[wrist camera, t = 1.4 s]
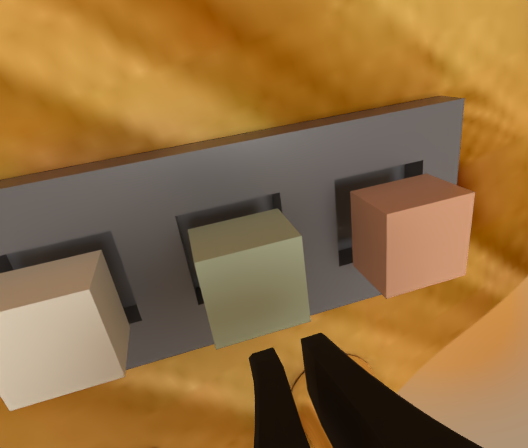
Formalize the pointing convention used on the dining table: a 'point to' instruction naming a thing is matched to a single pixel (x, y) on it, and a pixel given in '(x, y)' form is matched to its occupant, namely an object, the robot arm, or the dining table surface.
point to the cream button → (60, 329)
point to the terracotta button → (411, 233)
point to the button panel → (223, 209)
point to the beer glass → (308, 412)
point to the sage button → (250, 276)
